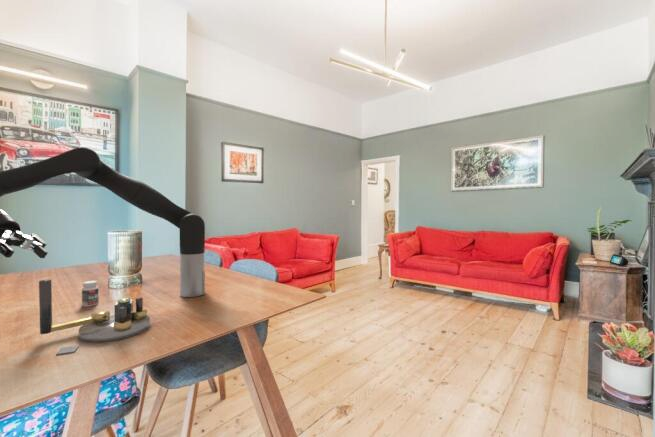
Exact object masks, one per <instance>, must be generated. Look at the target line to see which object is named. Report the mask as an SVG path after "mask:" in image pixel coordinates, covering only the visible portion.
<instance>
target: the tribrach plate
mask: <svg viewBox="0 0 655 437" xmlns="http://www.w3.org/2000/svg"><path fill="white" fill-rule="evenodd" d="M143 300H144V299H143V297H136V298H135V309H134V299H131V298H130V297H124V298H119V299H117V301H116V302H115V304H114V314H110V319H109V320H107V321H104V322H98V323H94V322H93V323H89V324H85V325H80V327H79V329H78V339H79V341H81V342H82V343H83V342H84V343H87V344H104V343H111V342H117V341H123V340H126V339H129V338H132V337H134V336H137V335H139V334H142V333H143V332H145V331H147V330H148V329H149V328H150V326H151V319H150V318H151V317H150V315H148V309H145V308H143V304H144V303H143V302H144V301H143Z"/></svg>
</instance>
